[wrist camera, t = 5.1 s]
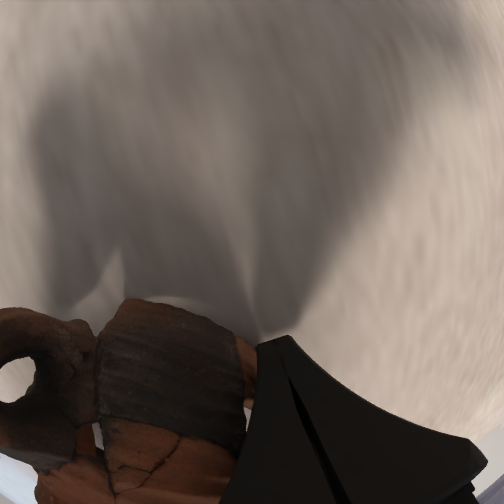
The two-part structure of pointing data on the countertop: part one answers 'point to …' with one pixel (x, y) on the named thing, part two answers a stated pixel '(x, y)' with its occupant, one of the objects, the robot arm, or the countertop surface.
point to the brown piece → (128, 405)
